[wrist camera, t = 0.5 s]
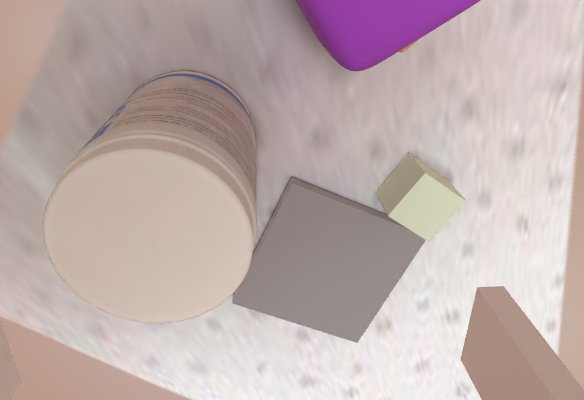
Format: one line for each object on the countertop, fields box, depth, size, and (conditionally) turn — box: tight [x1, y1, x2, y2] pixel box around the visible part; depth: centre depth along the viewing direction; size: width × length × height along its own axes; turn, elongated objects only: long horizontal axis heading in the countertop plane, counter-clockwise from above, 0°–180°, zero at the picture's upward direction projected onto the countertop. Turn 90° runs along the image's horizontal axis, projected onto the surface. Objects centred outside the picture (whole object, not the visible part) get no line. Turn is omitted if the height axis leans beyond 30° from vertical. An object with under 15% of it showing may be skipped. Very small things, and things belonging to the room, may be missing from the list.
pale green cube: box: [376, 153, 466, 242], centre depth 35 cm, size 4×4×4 cm
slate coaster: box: [233, 177, 425, 342], centre depth 39 cm, size 12×12×1 cm
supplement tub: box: [43, 71, 257, 323], centre depth 27 cm, size 10×10×15 cm
